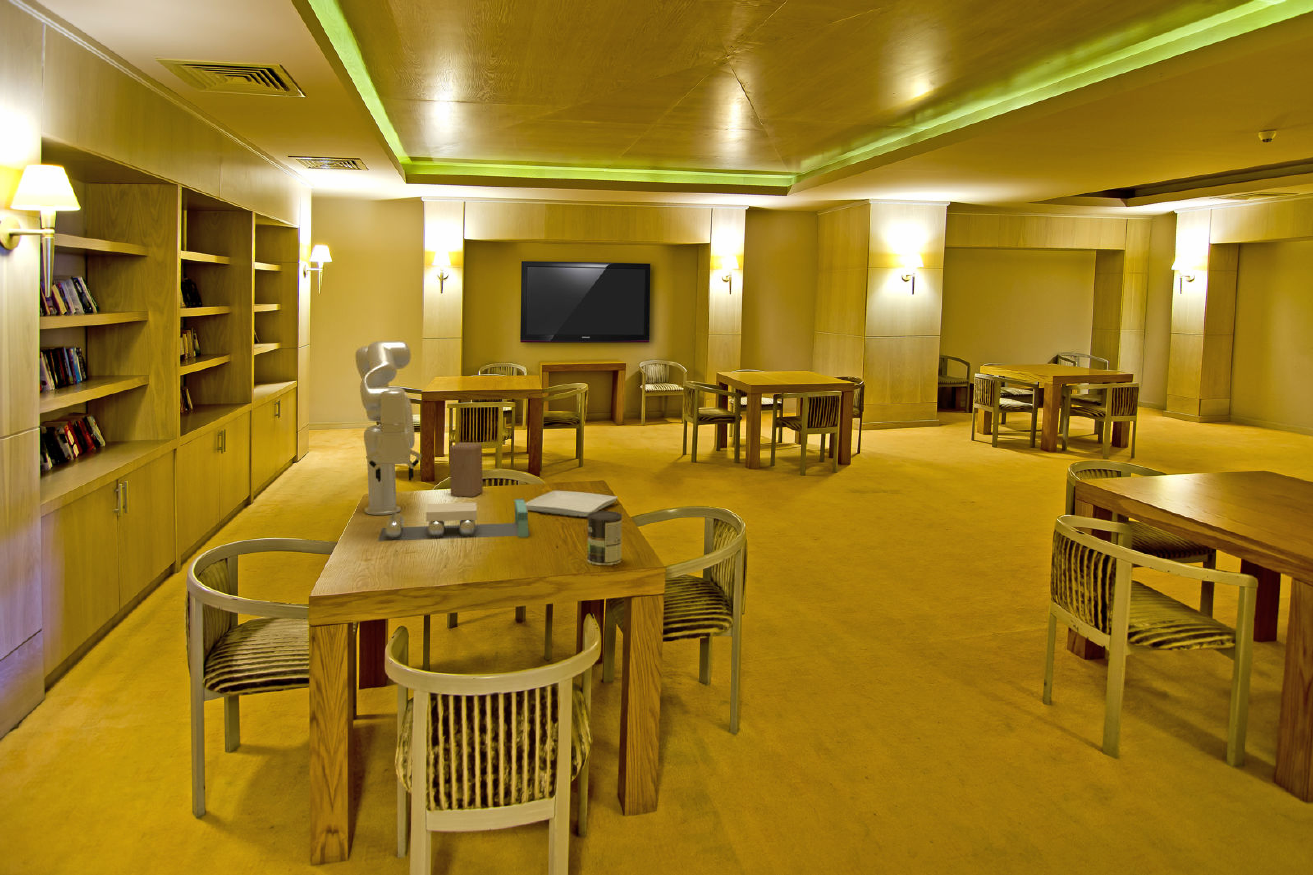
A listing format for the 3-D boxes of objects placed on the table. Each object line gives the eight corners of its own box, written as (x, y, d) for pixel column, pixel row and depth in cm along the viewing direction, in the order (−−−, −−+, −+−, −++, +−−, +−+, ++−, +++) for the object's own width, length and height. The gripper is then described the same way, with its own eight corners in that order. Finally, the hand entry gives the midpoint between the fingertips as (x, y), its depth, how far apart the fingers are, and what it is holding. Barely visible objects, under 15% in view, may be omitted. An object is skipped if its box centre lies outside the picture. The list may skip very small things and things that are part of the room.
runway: (382, 527, 312) (382, 503, 311) (526, 522, 322) (525, 498, 320) (377, 544, 292) (376, 517, 290) (530, 538, 301) (530, 512, 300)
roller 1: (429, 526, 313) (429, 512, 312) (444, 526, 314) (444, 511, 313) (428, 538, 297) (427, 523, 296) (444, 538, 298) (443, 523, 297)
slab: (427, 512, 310) (427, 504, 309) (476, 511, 313) (476, 502, 313) (426, 521, 298) (426, 512, 298) (476, 519, 301) (476, 510, 301)
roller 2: (459, 525, 315) (459, 511, 314) (474, 524, 316) (474, 510, 315) (459, 537, 299) (459, 522, 298) (475, 536, 300) (475, 521, 299)
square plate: (521, 513, 336) (521, 503, 336) (554, 498, 362) (554, 489, 361) (589, 521, 327) (589, 510, 326) (618, 505, 352) (619, 495, 352)
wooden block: (473, 497, 360) (472, 447, 357) (449, 496, 362) (448, 446, 359) (483, 492, 369) (482, 443, 366) (460, 491, 371) (459, 442, 368)
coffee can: (587, 566, 271) (587, 519, 269) (587, 556, 282) (587, 511, 279) (622, 565, 272) (622, 519, 270) (620, 555, 282) (621, 510, 280)
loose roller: (390, 528, 310) (387, 514, 309) (405, 526, 311) (402, 512, 310) (386, 541, 295) (383, 526, 294) (402, 538, 295) (399, 523, 295)
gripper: (364, 430, 292) (365, 483, 295) (420, 429, 296) (421, 482, 298) (366, 427, 299) (368, 479, 302) (421, 426, 303) (422, 477, 305)
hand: (394, 480), depth 300 cm, fingers open, 9 cm apart
